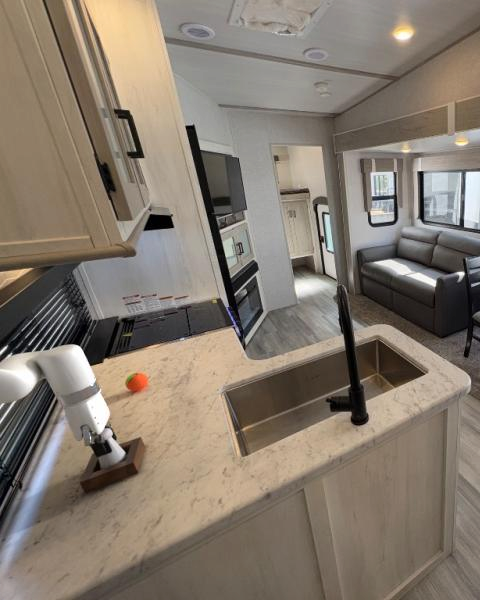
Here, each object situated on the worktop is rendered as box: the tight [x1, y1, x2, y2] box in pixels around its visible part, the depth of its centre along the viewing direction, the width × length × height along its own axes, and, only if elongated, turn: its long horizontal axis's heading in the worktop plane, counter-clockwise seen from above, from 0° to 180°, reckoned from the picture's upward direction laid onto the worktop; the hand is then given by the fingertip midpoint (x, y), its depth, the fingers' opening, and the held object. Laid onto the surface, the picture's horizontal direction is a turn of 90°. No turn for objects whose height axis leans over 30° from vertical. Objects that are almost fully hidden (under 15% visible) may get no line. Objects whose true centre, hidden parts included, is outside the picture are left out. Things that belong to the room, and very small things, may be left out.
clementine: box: [124, 372, 149, 392], centre depth 121 cm, size 8×7×7 cm
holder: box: [79, 436, 146, 495], centre depth 86 cm, size 11×11×4 cm
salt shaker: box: [93, 428, 128, 470], centre depth 84 cm, size 6×6×13 cm
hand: (107, 447), depth 84 cm, fingers closed on salt shaker, 4 cm apart
